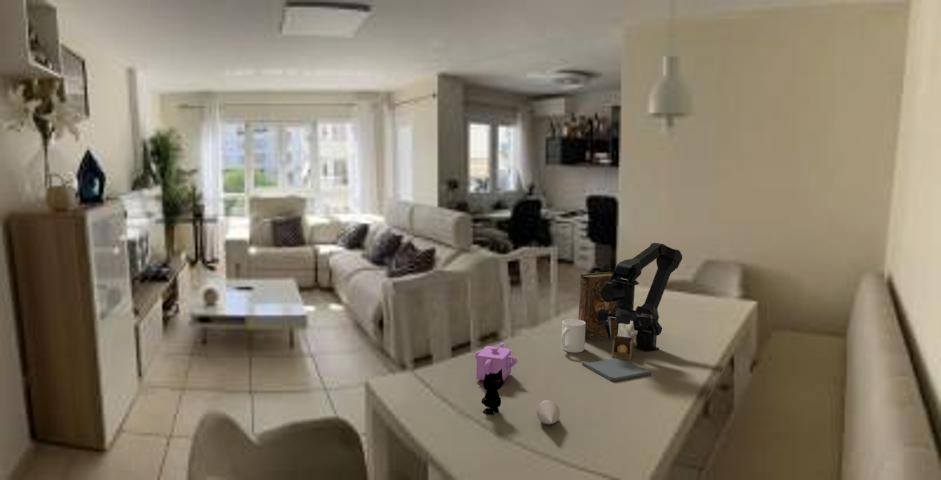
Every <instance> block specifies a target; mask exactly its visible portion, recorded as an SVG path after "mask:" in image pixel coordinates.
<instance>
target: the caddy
mask: <svg viewBox="0 0 941 480" xmlns="http://www.w3.org/2000/svg"><path fill="white" fill-rule="evenodd" d="M619 345H625V346H627V348H628V353H620V352H617V347H618V346H619ZM611 346H612V347H611V359H614V358H621V359H623V360H626V361H628V360H629V361H631V360H632V357H633V350H634V337H628V336H620V335H617V336H614V337H613V339H612V345H611Z"/></svg>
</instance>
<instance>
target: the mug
mask: <svg viewBox="0 0 941 480" xmlns="http://www.w3.org/2000/svg"><path fill="white" fill-rule="evenodd" d="M585 326H586V323H585V322H584V321H582V320H578V319H577V318H569V319H568V318H566V319H563V320H562V327H561V329H562V330H561V336H560V345H561V349H562V350H563V351H565V352H567V353H573V354H574V353H576V354H577V353H581V352H583V351H584V350H585V342H586V341H585Z"/></svg>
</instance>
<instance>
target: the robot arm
mask: <svg viewBox="0 0 941 480" xmlns="http://www.w3.org/2000/svg"><path fill="white" fill-rule="evenodd" d="M682 260H683V255H682V253H681V251H680V250H679V249H676V248H672V247H669V246H667V245H666V244H664V243H659V242H652V243H650V245H649V246H648V247H647V248H645V249H644V250H642V251H640V253H638V254H637V255H635V256H634V257H633V258H628V259H624V260H622V261H619V262H618V263H617V265H616V266H615V268H614V270H613V271H612V273H613V274H612V276H611V278H610V281H611V282H606V286H604V287H603V288H602V290H601V297H602V299H603V300H604V301H605V302H613V301H617V308H616V314H614V313H610V310H603V309H600V310H599V311H598V313H597V320H598V321H600V322H601V323H603V324H604V325H605V327H606V330H607V333H608V336H609V338H608V339H609V340H611V339H612V337H611V321H610V318H611V319H616V323H618V324H625V325H630V324H631V322H632V324H633V330H634V331H637V333H636V338H635V343H636V344H633V347H635V348H638V349H639V350H642V351H643V352H650V351H657V350H660V348H659V347H658V346H657V337H658V336H660V335H661V334H662V331H663V327H662V326H661V324H660V323H659V319H660V314H659V311H658V308H659V305H660V304H661V300H662V298H663V295H664V292H665V290H666V287H667V285H668V281H669V279H670V276H671V274H672V273H673V272H674V271H676V270H677V269H678V268H679V266H680V264H681V263H682ZM654 261H655V262H656V266H657V269H656V272H655V274H654V278H653V279H652V282H651V285H650V287H649V290H648V293H647V295H646V298H645V301H644V303H643V304H642V305H641V306H640V305H637V307H636V308H635V310H634V307H635V290H636V289H635V287H636V286H638V285H639V282H638V280H637V279H638V278H639V277H640V276H641V275H642V270H643V269H644V268H646V267H647V266H648V265H650V264H651V263H653V262H654ZM618 277H619V278H618ZM620 278H621V279H620Z"/></svg>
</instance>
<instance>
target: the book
mask: <svg viewBox="0 0 941 480" xmlns="http://www.w3.org/2000/svg"><path fill="white" fill-rule="evenodd" d="M612 274H613V271H605V272H604V271H603V272H593V273H582V274H580V276H579V277H580V278H579V280H580V281H579V300H578V301H579V302H578V320H582V321H584V322H585V323H586V326H585V342H588V341H590V342H591V341H595V340H596V341H597V340H601V339H602V340H604V339H609V336H608V333H607V330H606V327H605V325H604V324H603V323H601V322H600V321H598V320H597V313H598V311H599V310H600V309H603V310H610V313H614V314H616V308H617V301H613V302H605V301H604V300H603V299H602V297H601V290H602V288H603V287H604V286H606V282H611V281H610V278H611V276H612ZM618 278H619V277H618ZM620 279H622V278H620ZM610 321H611V338H614V336H619V328H620V326H619V324H618V323H616V319H611V318H610Z"/></svg>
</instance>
